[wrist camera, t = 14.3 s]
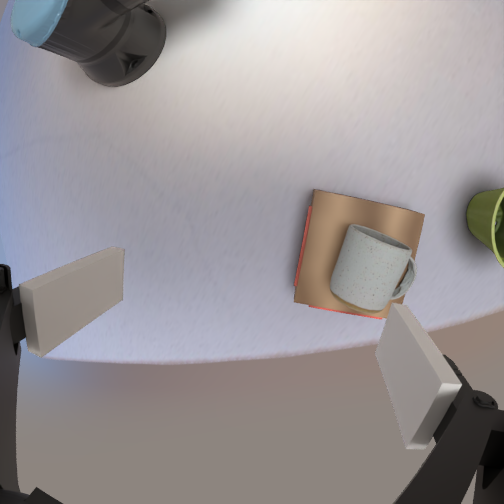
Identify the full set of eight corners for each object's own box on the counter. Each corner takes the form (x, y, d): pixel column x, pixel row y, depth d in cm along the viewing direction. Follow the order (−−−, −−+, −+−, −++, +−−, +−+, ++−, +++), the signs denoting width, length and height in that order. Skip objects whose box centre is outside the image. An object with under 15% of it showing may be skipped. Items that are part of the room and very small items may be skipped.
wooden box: (291, 289, 46) (290, 304, 40) (311, 188, 43) (312, 189, 37) (386, 306, 45) (396, 322, 39) (410, 209, 41) (424, 214, 35)
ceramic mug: (323, 283, 39) (328, 307, 32) (345, 219, 37) (356, 229, 30) (398, 305, 38) (417, 332, 31) (421, 246, 36) (446, 261, 29)
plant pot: (448, 251, 41) (484, 271, 30) (456, 171, 39) (496, 170, 28) (505, 257, 40) (545, 277, 29) (514, 184, 37) (557, 188, 26)
